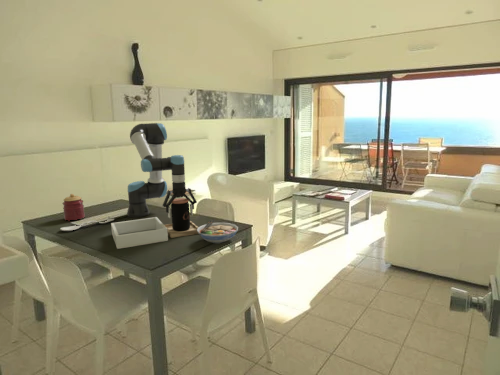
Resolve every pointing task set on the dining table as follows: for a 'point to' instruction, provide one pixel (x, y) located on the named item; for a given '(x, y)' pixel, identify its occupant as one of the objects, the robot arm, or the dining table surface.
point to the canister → (73, 208)
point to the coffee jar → (180, 214)
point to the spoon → (82, 224)
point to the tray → (173, 233)
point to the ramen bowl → (217, 231)
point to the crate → (138, 237)
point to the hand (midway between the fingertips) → (180, 216)
